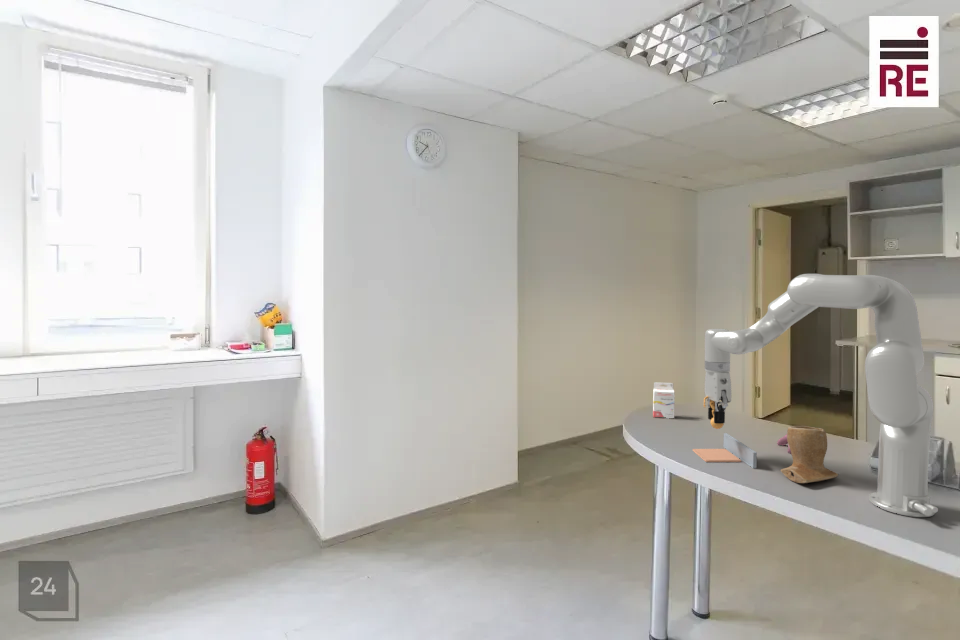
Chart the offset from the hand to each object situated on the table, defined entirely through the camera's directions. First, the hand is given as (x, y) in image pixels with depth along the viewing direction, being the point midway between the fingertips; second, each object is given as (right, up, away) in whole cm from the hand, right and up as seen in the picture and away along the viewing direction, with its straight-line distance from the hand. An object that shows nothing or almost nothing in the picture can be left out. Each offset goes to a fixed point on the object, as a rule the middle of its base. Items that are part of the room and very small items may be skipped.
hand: (716, 420), depth 160 cm
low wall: (+7, -12, -1) cm, 14 cm away
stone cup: (+17, -13, -18) cm, 28 cm away
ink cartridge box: (+1, -9, +50) cm, 50 cm away
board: (0, -12, +1) cm, 12 cm away
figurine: (0, -3, +1) cm, 3 cm away
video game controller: (+29, -11, +6) cm, 31 cm away
